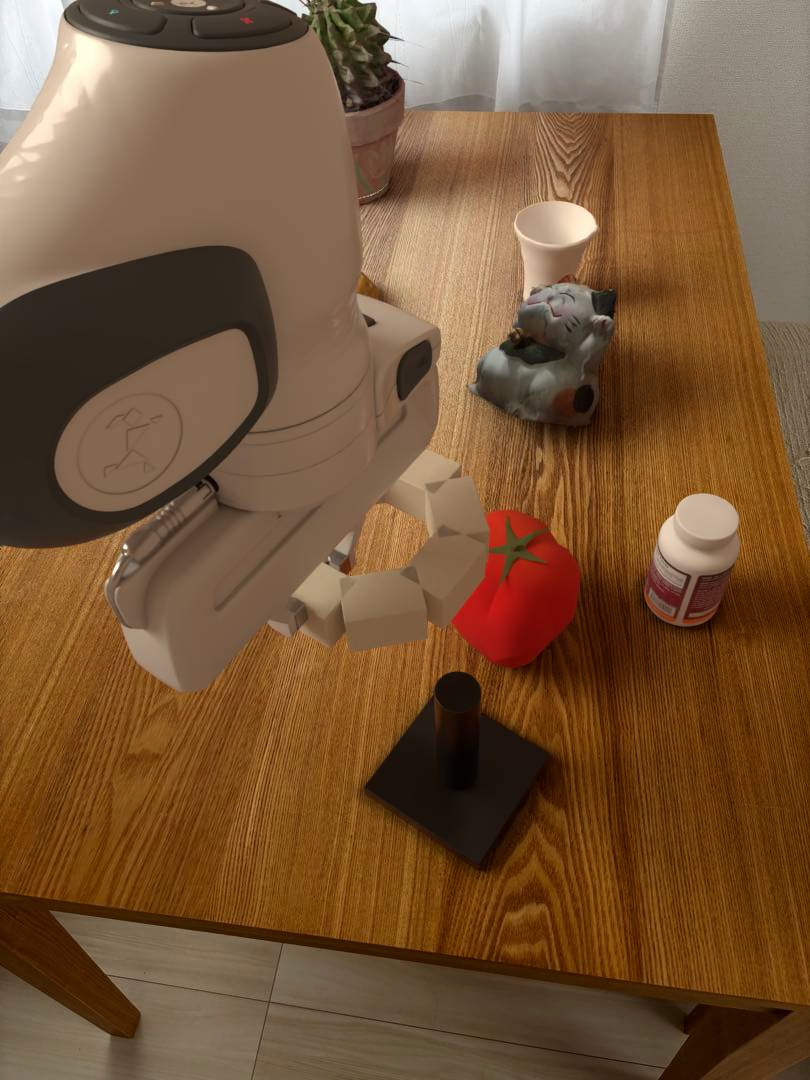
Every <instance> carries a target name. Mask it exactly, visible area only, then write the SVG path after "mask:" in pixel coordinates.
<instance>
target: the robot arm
mask: <svg viewBox="0 0 810 1080" xmlns="http://www.w3.org/2000/svg"><path fill="white" fill-rule="evenodd" d="M363 264H364V243H363V231H362V220H361V209H360V204H359V199H358V190H357V182H356V174H355V166H354V160H353V154H352V148H351V141H350V136H349V131H348V126H347V121H346V116H345V112H344V108H343V104H342V100H341V96H340V92H339V88H338V85H337V82H336V79H335V76H334V73H333V70H332V67H331V64H330V61H329V59H328V57H327V54H326V52H325V49H324V47H323V45H322V43H321V41H320V39H319V38H318V36H317V34H316V32H315V31H314V29H313V28H312V27H311V25H309V26H308V23H306V22H305V21H304V20H303V19H301V16H298V13H296V12H295V11H293V10H292V9H290V8H288V7H287V6H284V5H282V4H280V3H277V2H274V1H272V0H74V1H73V2H71V3H70V4H68V5H67V7H66V8H65V9H64V10H63V11H62V13H61V16H60V18H59V24H58V29H57V38H56V46H55V51H54V57H53V60H52V63H51V66H50V68H49V71H48V73H47V76H46V77H45V79H44V82H43V84H42V85H41V88H40V90H39V92H38V93H37V95H36V97H35V99H34V101H33V103H32V105H31V106H30V109H29V111H28V113H27V115H26V116H25V118H24V119H23V121H22V123H21V124H20V125H19V127H18V128H17V130H16V131H15V133H14V134H13V136H12V137H11V138H10V140H9V142H8V143H7V144H6V146H5V147H4V148H3V149H2V151H1V152H0V546H4V547H9V548H15V549H25V550H46V549H47V550H49V549H58V548H66V547H72V546H78V545H81V544H87V543H90V542H93V541H97V540H100V539H104V538H106V537H108V536H111V535H113V534H115V533H118V532H120V531H122V530H125V529H127V528H130V527H131V526H133V525H135V524H137V523H138V522H141V521H143V520H144V519H146V518H148V517H150V516H151V515H152V514H154V513H156V512H157V513H156V514H155V515H154V516H153V517H152V518H150V520H148V521H147V522H146V523H143V524H141V525H139V526H138V527H137V528H135V529H134V530H133V531H132V532H131V533H130V534H129V535H128V536H127V537H126V539H125V540H124V541H123V542H122V544H121V546H120V549H119V550H120V554H119V556H118V557H117V560H116V562H115V563H114V567H113V569H112V571H111V574H110V576H109V577H108V578H107V579H106V581H105V583H104V586H103V587H104V588H103V590H104V595H105V596H104V597H105V598H106V600H107V602H108V605H109V606H110V609H111V610H112V612H113V614H114V615H115V617H116V618H117V620H118V622H119V624H120V626H121V627H120V628H121V630H122V633H123V636H124V639H125V641H126V644H127V646H128V649H129V651H130V653H131V655H132V658H133V659H134V660H135V662H136V663H137V664H138V665H139V666H140V667H141V668H142V669H143V670H145V671H146V672H148V674H150V675H151V676H152V677H155V678H156V679H157V680H159V681H160V682H162V683H163V684H165V685H166V686H168V687H169V688H171V689H173V690H174V691H177V692H179V693H181V694H192V693H193V694H194V693H199V692H203V691H205V690H206V689H207V688H208V687H209V686H210V685H211V684H212V683H213V682H214V681H215V680H216V679H217V678H218V677H219V675H220V674H221V673H222V672H223V671H224V670H225V669H226V668H227V666H229V665H230V663H231V662H232V661H233V660H234V659H235V658H236V657H237V656H238V655H239V653H240V652H241V651H242V650H243V649H244V648H245V647H246V646H247V645H248V644H249V643H250V642H251V640H252V639H253V638H254V637H255V636H256V635H257V634H258V633H259V632H260V631H261V630H262V628H263V627H264V626H265V625H266V624H267V625H268V626H269V627H270V628H271V629H273V630H274V631H276V632H277V633H280V634H281V635H283V636H284V637H286V638H287V639H292V638H293V637H294V636H295V635H296V633H297V632H298V631H299V629H300V628H301V626H302V625H303V624H304V623H305V622H306V620H307V619H308V616H307V614H306V612H307V611H306V604H305V603H304V602H302V601H300V600H299V599H297V598H290V597H291V595H292V594H293V593H294V592H295V591H296V590H297V589H298V588H299V587H300V586H301V585H302V583H303V582H304V581H305V580H306V579H307V578H308V577H309V576H310V575H311V574H312V573H313V571H314V570H315V569H316V568H317V567H318V566H319V565H320V564H321V563H322V562H323V563H326V564H328V565H329V566H330V567H332V568H334V569H336V570H337V571H339V572H342V573H344V574H346V575H347V576H348V575H349V573H350V572H351V571H352V570H353V569H354V568H355V567H356V565H357V558H356V548H357V545H358V542H359V540H360V536H361V533H362V531H363V527H364V524H365V521H366V519H367V514H368V512H370V510H372V508H373V507H374V506H376V505H377V504H376V503H377V502H378V501H379V499H380V498H381V497H382V496H383V495H384V494H385V493H386V492H387V491H388V490H389V489H390V487H391V486H392V485H393V484H394V483H395V482H396V481H397V480H398V479H399V478H400V477H401V475H402V474H403V473H404V472H405V471H406V470H407V469H408V468H409V467H410V466H411V465H412V463H413V462H414V461H415V460H416V459H417V458H418V457H419V456H420V455H421V454H422V453H423V452H424V451H425V450H426V448H427V449H428V447H429V445H430V444H431V442H432V439H433V437H434V434H435V431H436V429H437V427H438V424H439V423H438V422H439V415H440V414H439V413H440V412H439V411H440V379H439V370H438V366H437V363H438V361H439V359H440V355H441V350H442V334H441V329H440V327H439V326H437V325H435V324H433V323H431V322H430V321H427V320H426V319H423V318H422V317H419V316H417V315H416V314H413V313H412V312H409V311H407V310H404V309H402V308H399V307H397V306H394V305H392V304H390V303H387V302H384V301H382V300H380V299H379V300H376V299H374V298H371V297H368V296H365V295H362V294H358V293H357V288H358V283H359V279H360V275H361V272H363ZM375 504H376V505H375Z"/></svg>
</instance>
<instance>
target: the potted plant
mask: <svg viewBox="0 0 810 1080" xmlns="http://www.w3.org/2000/svg"><path fill="white" fill-rule="evenodd" d="M298 1H299V2H300V3H301V4H302V5H303V6H302V7H301V9H302V8H304V7H306V8H307V9H308V11H309V13H308V14H306V13H303V12H302V13H301V15H300V18H301V19H303V20H304V21H305V22H306V23H308V26H309V25H311V27H312V28H313V29H314V31H315V32H316V34H317V36H318V38H319V39H320V41H321V43H322V45H323V47H324V49H325V52H326V54H327V57H328V59H329V61H330V64H331V67H332V70H333V73H334V76H335V79H336V82H337V85H338V88H339V92H340V96H341V100H342V104H343V108H344V112H345V116H346V121H347V126H348V131H349V136H350V141H351V148H352V154H353V160H354V166H355V174H356V182H357V190H358V198H360V197H363V196H367V195H370V194H373V193H375V192H377V191H379V190H381V189H382V188H383V187H384V186H385V185H386V184H387V183H388V184H387V185H386V186H385V187H384V188H383V190H381V191H379V192H378V193H376V194H374V195H372V196H369V197H365V198H361V199H359V205H365V204H368V203H370V202H373V201H375V200H378V199H380V198H381V197H382V196H383V195H384V194H385V193H386V192H387V191H388V188H389V182H390V177H391V172H392V166H393V161H394V154H395V150H396V145H397V144H396V143H397V139H398V133H399V127H400V126H401V124H402V123H403V121H404V119H405V105H406V100H405V99H406V82H405V80H406V81H408V79H405V78H403V77H402V76H401V74H400V73H399V72H398V71H397V70H396V69H394V68H392V67H390V66H388V65H389V64H390V63H393V64H396V65H397V64H398V65H402V66H405V67H407V68H408V65H405V64H403V63H401V62H399V61H396V60H394V59H393V58H392V55H391V54H390V53H389V52H386V51H385V48H384V46H385V45H386V44H387V43H388V42H389V40H390V41H393V40H394V41H396V42H400V41H401V42H406V43H407V42H408V43H410V44H411V43H412V42H409V41H407V40H404V39H403V38H399V37H397V36H394V35H391V32H390V31H389V30H387V28H385V27H384V26H383V25H381V24H380V23H379V21H378V20H377V18H376V16H377V10H378V7H377V3H376V2H374V1H373V2H365V3H364V2H363V3H362V2H361V1H359V0H306V3H305V2H304V1H303V0H298ZM412 44H413V45H416V46H418V47H421V48H423V46H422V45H417V44H415V43H412ZM425 48H426V47H425ZM426 49H427V48H426ZM409 81H410V82H413V83H417V84H420V85H425V83H422V82H421V83H420V82H418V81H415V80H414V81H413V80H410V79H409ZM388 181H389V182H388Z"/></svg>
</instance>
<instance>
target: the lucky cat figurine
mask: <svg viewBox="0 0 810 1080" xmlns="http://www.w3.org/2000/svg"><path fill="white" fill-rule="evenodd" d="M617 297H618V292H617V290H616V289H615V288H610V289H608V288H607V289H603V290H600V291H598V290H595V289H593V288H590V287H589V286H588V285H587V284H579V283H578V279H577V277H576V275H575V276H574V275H572V274H570V273H568V274H567V275H566V276H564V277H563V278H561V279H560V280H559V281H558V282H557V283H556V284H555V285H550V286H546V285H541V284H540V285H539V286H538V287H536V288H535V287H532V290H531V292H530V297H529V298H528V299H527V300H526V301H523V302H522V303H521V304H520V306H519V309H518V310H517V316H516V318H515V320H514V321H513V324H512V328H511V330H510V331H509V333H508V335H507V336H506V337H507V340H504V341H503V342H500V345H497V346H494V347H493V348H491V349H489V350H488V351H487V352H485V353H484V354H483V355H482V357H481V358H480V359H479V360H478V362H477V364H476V372H475V373H476V380H475V382H473V383H470V384H465V385H464V386H465V387H466V389H467V390H468V392H469V393H470V394H472V395H475V396H478V397H479V398H481V399H484V400H486V401H487V402H489V403H491V404H492V405H493V406H495V408H497V409H498V410H499V411H501V412H503V413H505V414H507V415H510V416H513V417H515V418H517V419H519V420H524V421H528V422H533V423H544V424H554V425H566V426H569V427H581V426H588V425H591V423H592V419H593V414H594V412H595V409H596V407H597V405H598V403H599V401H600V396H601V394H600V389H599V370H600V365H601V362H602V361H603V360H604V358H605V355H606V351H607V349H608V348H609V347H610V344H611V342H612V340H613V337H614V335H615V332H616V323H615V321H614V316H615V314H616V312H617V310H616V304H617V299H618V298H617Z"/></svg>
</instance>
